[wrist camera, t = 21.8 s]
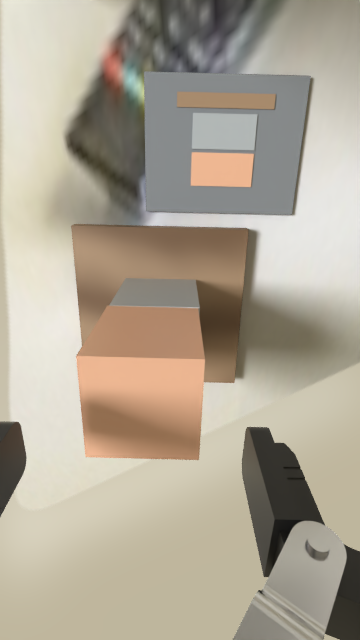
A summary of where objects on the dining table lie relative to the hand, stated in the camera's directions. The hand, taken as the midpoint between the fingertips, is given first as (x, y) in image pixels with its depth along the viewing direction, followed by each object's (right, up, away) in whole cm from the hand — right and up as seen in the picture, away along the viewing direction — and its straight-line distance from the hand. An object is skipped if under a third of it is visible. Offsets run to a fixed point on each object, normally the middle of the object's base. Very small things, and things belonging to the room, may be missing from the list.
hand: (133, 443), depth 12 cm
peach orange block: (0, +3, +8) cm, 8 cm away
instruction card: (+4, +16, +10) cm, 19 cm away
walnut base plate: (0, +5, +14) cm, 15 cm away
